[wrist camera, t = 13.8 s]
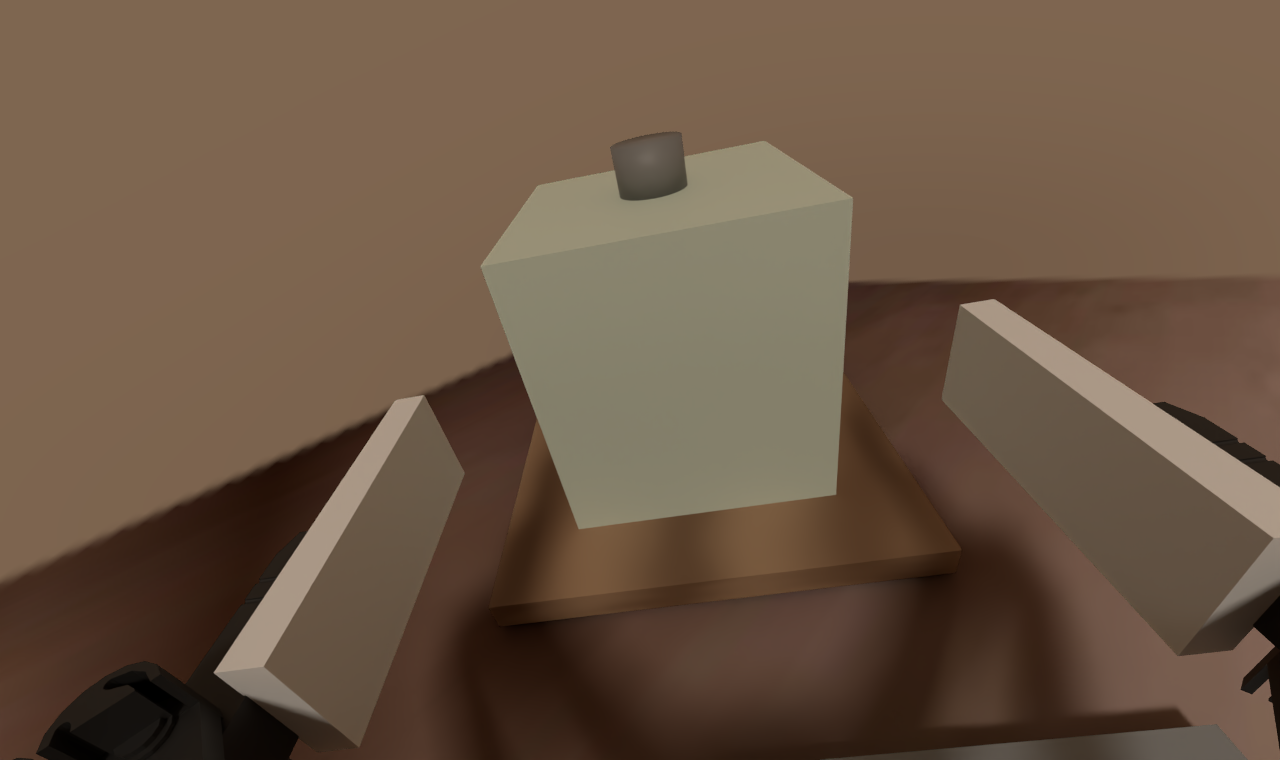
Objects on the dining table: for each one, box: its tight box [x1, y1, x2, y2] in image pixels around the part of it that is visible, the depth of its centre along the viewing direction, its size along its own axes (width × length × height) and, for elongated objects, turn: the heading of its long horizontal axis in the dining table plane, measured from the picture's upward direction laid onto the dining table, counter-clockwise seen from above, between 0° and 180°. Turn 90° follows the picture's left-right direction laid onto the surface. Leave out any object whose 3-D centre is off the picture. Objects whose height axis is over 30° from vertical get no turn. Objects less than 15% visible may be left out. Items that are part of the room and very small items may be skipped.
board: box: [488, 372, 962, 626], centre depth 24 cm, size 16×16×1 cm
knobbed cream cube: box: [480, 132, 853, 529], centre depth 20 cm, size 10×10×13 cm
